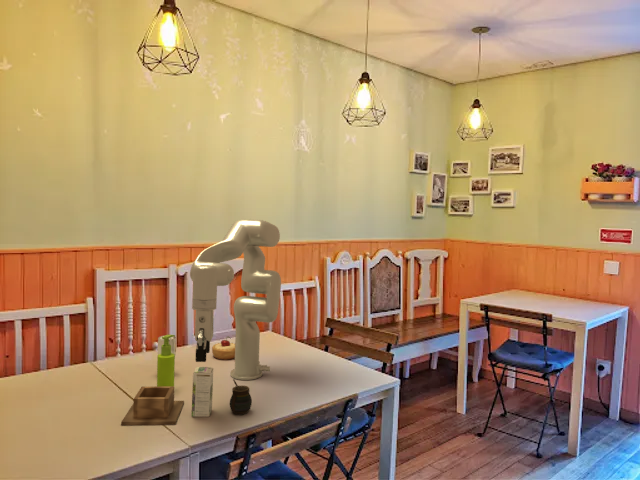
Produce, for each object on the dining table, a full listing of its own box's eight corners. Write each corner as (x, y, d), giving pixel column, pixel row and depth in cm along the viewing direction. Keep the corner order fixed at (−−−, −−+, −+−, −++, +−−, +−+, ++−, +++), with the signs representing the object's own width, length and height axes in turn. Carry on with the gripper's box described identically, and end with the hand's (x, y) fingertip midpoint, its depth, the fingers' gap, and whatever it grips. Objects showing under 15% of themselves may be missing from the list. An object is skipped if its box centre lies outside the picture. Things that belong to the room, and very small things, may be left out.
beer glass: (178, 372, 197) (179, 335, 196) (171, 378, 190) (172, 340, 189) (161, 371, 197) (162, 334, 196) (154, 377, 190) (154, 339, 189)
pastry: (206, 359, 216) (206, 339, 216) (221, 351, 227) (221, 332, 227) (230, 362, 212) (229, 342, 211) (244, 354, 223) (244, 335, 222)
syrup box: (194, 409, 162) (195, 366, 161) (212, 409, 163) (213, 366, 162) (191, 417, 157) (192, 372, 156) (210, 417, 157) (211, 372, 156)
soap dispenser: (179, 388, 180) (180, 334, 179) (167, 395, 174) (168, 339, 172) (165, 385, 182) (166, 332, 181) (153, 392, 176) (154, 337, 174)
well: (183, 403, 167) (184, 383, 166) (175, 424, 151) (176, 402, 151) (134, 403, 165) (135, 383, 165) (121, 425, 149) (121, 402, 149)
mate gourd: (241, 418, 157) (242, 387, 157) (223, 412, 161) (224, 382, 160) (256, 410, 163) (256, 381, 163) (238, 405, 167) (239, 376, 167)
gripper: (213, 309, 149) (211, 365, 150) (218, 299, 166) (217, 349, 167) (188, 309, 148) (186, 365, 149) (196, 299, 165) (194, 349, 166)
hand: (202, 357), depth 158 cm, fingers open, 9 cm apart
